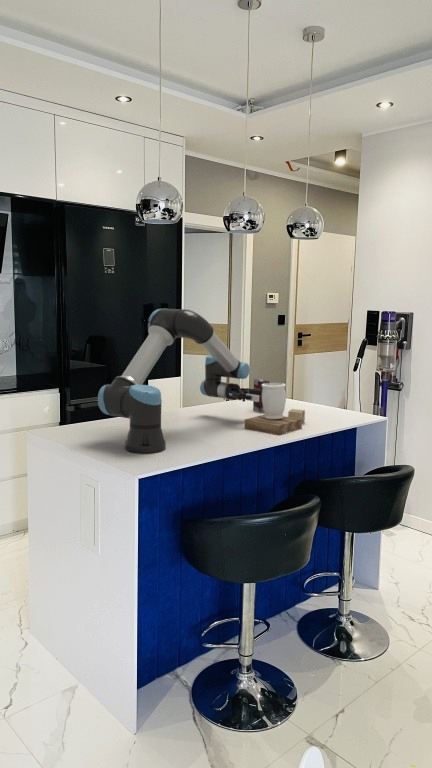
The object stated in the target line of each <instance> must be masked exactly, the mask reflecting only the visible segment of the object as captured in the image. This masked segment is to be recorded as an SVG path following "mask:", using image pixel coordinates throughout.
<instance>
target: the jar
mask: <svg viewBox="0 0 432 768" xmlns="http://www.w3.org/2000/svg"><path fill="white" fill-rule="evenodd" d="M262 387H263V390H262V404H263V409H264V412H265V413H264V415H265V414H266V415H265V416H264V417H265V418H266V419H281V418H283V417H284V414H283V413H284V412H285V409H286V402H287V394H286V392H287V391H286V389H285V388H286V383H282V382H270V383H265V384H262Z"/></svg>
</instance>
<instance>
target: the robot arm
mask: <svg viewBox="0 0 432 768" xmlns="http://www.w3.org/2000/svg"><path fill="white" fill-rule="evenodd" d="M147 330H148V331H147V332H148V335H147V337H146V339H145V340H144V342H143V343H142V345H141V346H140V347H139V348H138V350H137V352H136V354H135V355H134V356H133V358H132V359H131V360H130V362H129V364H128V365H127V367H126V369H125V370H124V371H123V373H122V375H119V376H115V378H114V379H113V381H112V382H111V383H110V384H109V383H107V384H104V385H103V386H101V388H100V389H99V391H98V394H97V404H98V408H99V409H100V411H101V412H102V413H103V414H105V415H108V416H111V417H119V418H124V419H129V430H128V433H127V437H126V440H125V441H124V449H125V451H127V452H130V453H133V454H135V453H136V454H153V453H159V452H163V451H165V450H166V448H167V447H166V445H167V444H166V440H165V437H164V434H163V429H162V402H163V401H162V392H161V390H160V389H159V388H158V387H155V386H152V385H148V384H144V382H145V381H146V379H147V378H148V376H149V374H150V373H151V371H152V369H153V368H154V367H155V365H156V363H157V362H158V361H159V359H160V357H161V356H162V354H163V352H164V351H165V350H166V348H167V346H171V345H173V343H174V342H175V340H176V339H178V338H182V339H183V338H184V339H189V340H192V341H193V342H194V343H196V344H198V345H200V346H201V347H203V349H204V350H205V351H206V352H207V353H208V354H209V355H207V356H206V357H205V362H204V371H205V372H204V373H205V374H204V375H205V378H204V380H203V381H202V382H201V383H200V385H199V389H200V392H201V394H202V395H203V396H206V397H212V398H219V399H223V400H224V401H225V400H231V401H236V400H238V401H242V402H246V401H250V402H253V401H255V402H259V396H262V390H263V389H254V388H247V387H246V388H244V387H240V385H239V384H238V383H231V382H228V381H227V382H226V381H225V382H224V381H222V377H223V378H230V379H237V380H239V379H240V380H245V379H247V378H248V377H249V375H250V371H251V369H250V365H249V364H248V363H247V362H244V361H240V360H239V359H238V358H237V357H236V356H235V354H233V352H232V351H231V350H230V349H229V348H228V346H226V344H225V343H224V342H223V341H222V340H221V339H220V337H219V336H218V335H217V334H216V333H215V331H214V327H213V326H212V325H211V323H210V322H209V321H208V320H206V318H204V316H201V314H199V313H197V312H195V311H193V310H190V309H186V308H184V309H183V308H182V309H181V308H180V309H178V308H177V309H176V308H167V307H165V308H157V309H156V310H154V311H152V313H151V314H150V316H149V317H148V323H147Z"/></svg>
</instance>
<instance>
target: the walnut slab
mask: <svg viewBox="0 0 432 768" xmlns="http://www.w3.org/2000/svg"><path fill="white" fill-rule="evenodd" d="M265 415H266V414H265V413H264V414H261V415H257V416H254V417H249V418H245V419H244V426H243V427H244V429H246V430H250V431H255V432H256V431H257V432H260V433H261V432H262V433H265V434H271V433H272V434H271V435H276V434H277V435H278V436H280V435H283V434H287V433H290V432H289V431H291V432H293V430H294V431H297V430H300V429H302V428H303V427H302V426H303V424H302V419H297V418H291V417H288V416H284V415H283V416H284V417H283V418H281V419H266V418H265V417H264V416H265ZM296 429H297V430H296ZM286 432H287V433H286Z"/></svg>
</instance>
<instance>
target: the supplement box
mask: <svg viewBox="0 0 432 768" xmlns="http://www.w3.org/2000/svg"><path fill="white" fill-rule="evenodd" d="M265 383H271V382H270V381H269V380H266V379H263V378H255V379H253V389H263V387H262V384H265ZM252 402H253V404H252V410H253V411H255V412H257V413H260V414H265V412H264V409H263V404H262V396H259V402H255V401H252Z"/></svg>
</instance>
